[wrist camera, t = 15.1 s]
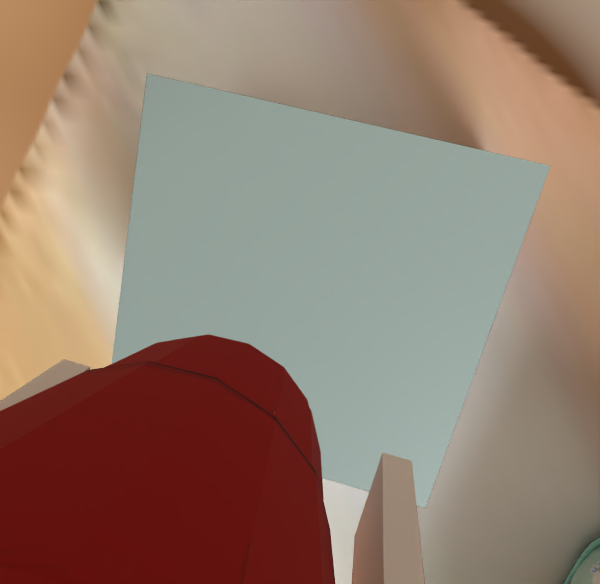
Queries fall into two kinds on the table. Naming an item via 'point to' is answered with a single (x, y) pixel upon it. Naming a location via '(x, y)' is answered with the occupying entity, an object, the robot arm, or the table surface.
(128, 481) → the plastic cup
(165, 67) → the table surface
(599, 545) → the lunch box
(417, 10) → the table surface
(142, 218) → the pale teal square panel
